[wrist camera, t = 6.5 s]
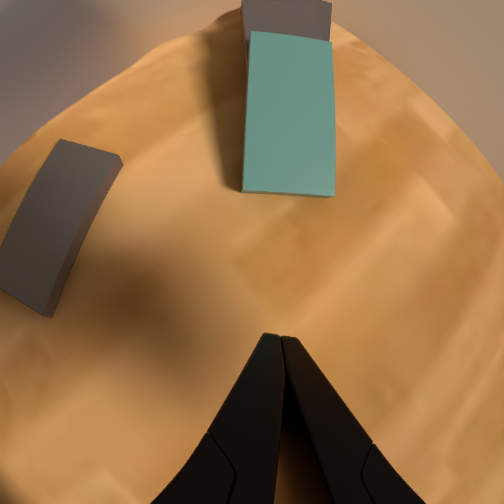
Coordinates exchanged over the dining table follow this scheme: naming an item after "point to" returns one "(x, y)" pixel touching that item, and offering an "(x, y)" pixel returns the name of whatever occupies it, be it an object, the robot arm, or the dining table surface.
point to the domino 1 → (54, 223)
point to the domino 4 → (324, 17)
